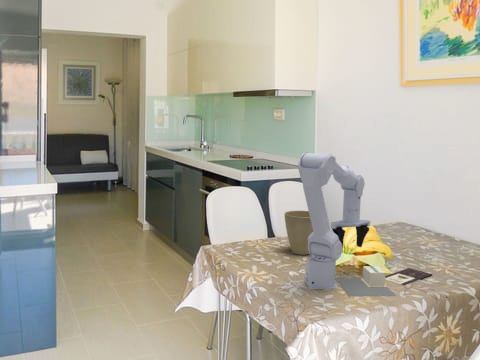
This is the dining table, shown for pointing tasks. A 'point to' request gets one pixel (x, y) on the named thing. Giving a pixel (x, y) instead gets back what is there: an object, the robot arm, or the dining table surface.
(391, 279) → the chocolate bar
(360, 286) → the mat
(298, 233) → the plant pot
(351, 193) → the robot arm
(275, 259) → the dining table surface
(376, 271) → the card deck box
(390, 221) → the dining table surface
